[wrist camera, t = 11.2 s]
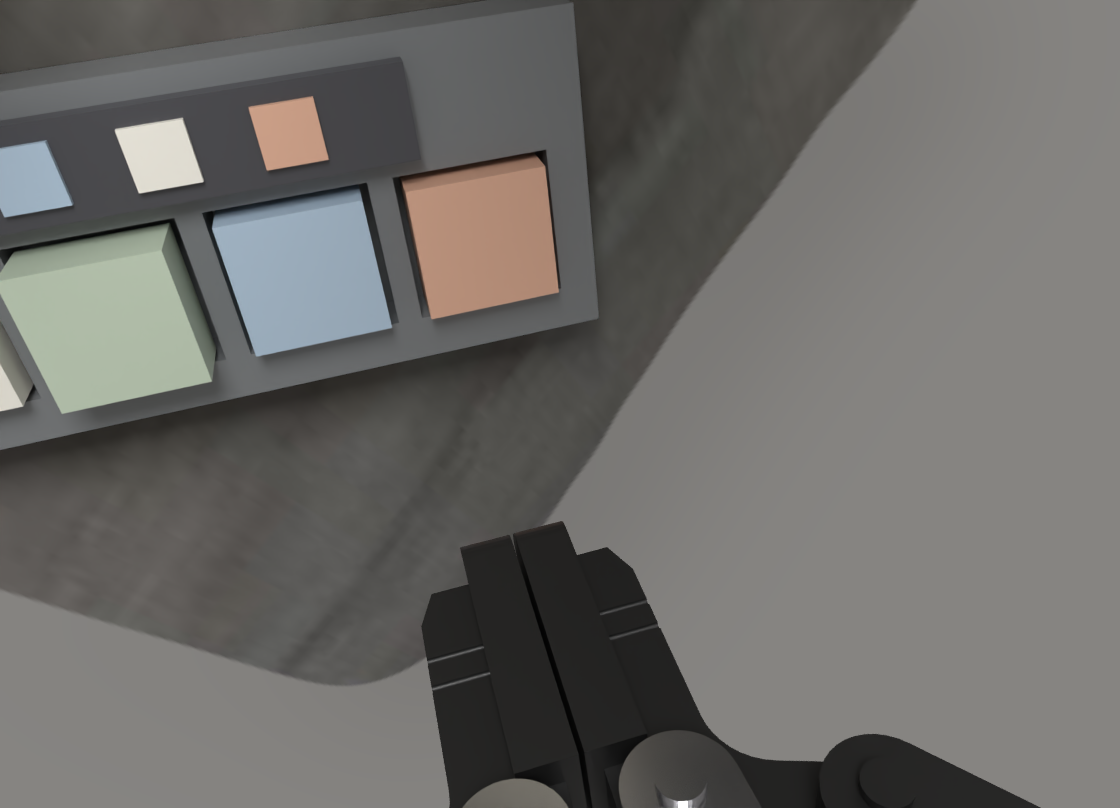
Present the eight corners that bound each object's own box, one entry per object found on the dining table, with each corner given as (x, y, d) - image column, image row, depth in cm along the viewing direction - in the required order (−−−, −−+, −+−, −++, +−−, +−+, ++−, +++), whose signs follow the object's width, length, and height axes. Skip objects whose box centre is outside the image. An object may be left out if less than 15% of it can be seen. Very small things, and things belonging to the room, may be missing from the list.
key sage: (14, 251, 29) (-6, 282, 27) (169, 222, 30) (161, 250, 28) (76, 377, 32) (62, 413, 30) (216, 348, 32) (211, 381, 30)
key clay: (397, 170, 32) (405, 192, 30) (528, 146, 33) (545, 166, 31) (422, 291, 35) (431, 319, 33) (542, 266, 35) (558, 292, 33)
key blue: (216, 203, 31) (212, 228, 29) (356, 177, 32) (362, 200, 30) (257, 325, 34) (256, 356, 32) (385, 299, 34) (392, 327, 32)
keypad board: (-324, 123, 27) (-408, 161, 23) (550, -10, 31) (581, 7, 28) (-116, 435, 33) (-158, 499, 30) (578, 288, 38) (606, 329, 35)
